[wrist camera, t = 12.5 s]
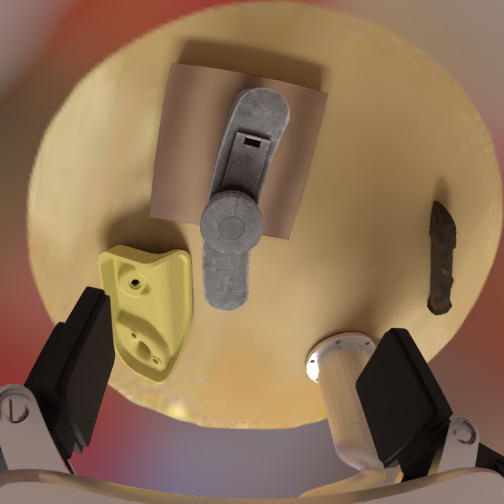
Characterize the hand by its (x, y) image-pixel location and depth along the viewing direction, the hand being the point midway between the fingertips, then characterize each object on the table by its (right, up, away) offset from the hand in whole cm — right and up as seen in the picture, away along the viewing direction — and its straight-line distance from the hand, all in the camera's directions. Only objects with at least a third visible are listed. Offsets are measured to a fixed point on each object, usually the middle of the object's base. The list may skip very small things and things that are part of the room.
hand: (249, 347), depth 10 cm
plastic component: (-15, -4, +34) cm, 37 cm away
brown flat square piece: (-2, +14, +24) cm, 28 cm away
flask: (-2, +13, +22) cm, 26 cm away
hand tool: (+28, +2, +34) cm, 43 cm away
